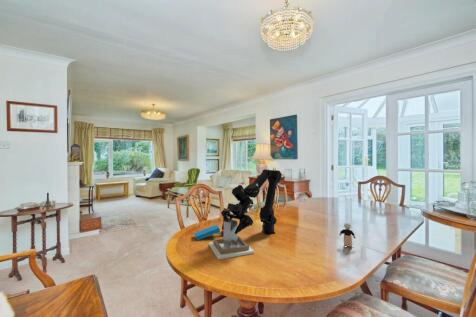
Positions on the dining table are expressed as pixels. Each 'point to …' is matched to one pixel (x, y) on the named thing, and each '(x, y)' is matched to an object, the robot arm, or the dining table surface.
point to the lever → (208, 232)
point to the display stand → (225, 252)
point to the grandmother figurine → (347, 235)
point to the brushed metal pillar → (230, 233)
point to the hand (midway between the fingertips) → (228, 231)
